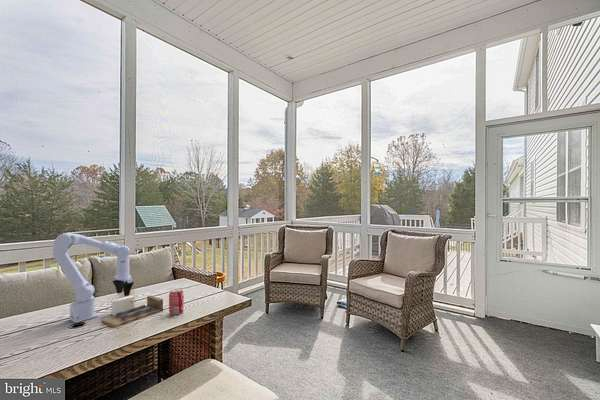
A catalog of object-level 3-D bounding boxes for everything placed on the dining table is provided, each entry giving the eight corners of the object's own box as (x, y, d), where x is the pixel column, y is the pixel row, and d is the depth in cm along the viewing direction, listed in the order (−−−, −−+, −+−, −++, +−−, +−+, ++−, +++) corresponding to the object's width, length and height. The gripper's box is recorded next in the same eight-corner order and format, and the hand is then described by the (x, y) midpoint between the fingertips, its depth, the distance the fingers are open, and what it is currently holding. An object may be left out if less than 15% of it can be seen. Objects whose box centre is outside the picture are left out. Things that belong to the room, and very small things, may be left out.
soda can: (180, 309, 151) (180, 287, 151) (185, 313, 146) (185, 290, 146) (167, 313, 146) (167, 290, 146) (172, 316, 141) (172, 293, 141)
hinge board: (113, 327, 129) (113, 314, 129) (101, 321, 135) (101, 309, 135) (162, 310, 149) (162, 299, 149) (150, 306, 155) (150, 295, 155)
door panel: (115, 316, 142) (115, 302, 142) (111, 314, 145) (111, 300, 145) (135, 309, 151) (135, 296, 151) (131, 308, 153) (131, 295, 153)
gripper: (138, 269, 148) (138, 294, 148) (124, 265, 155) (124, 290, 155) (123, 271, 142) (123, 298, 142) (110, 268, 149) (110, 293, 149)
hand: (123, 294), depth 148 cm, fingers open, 7 cm apart
